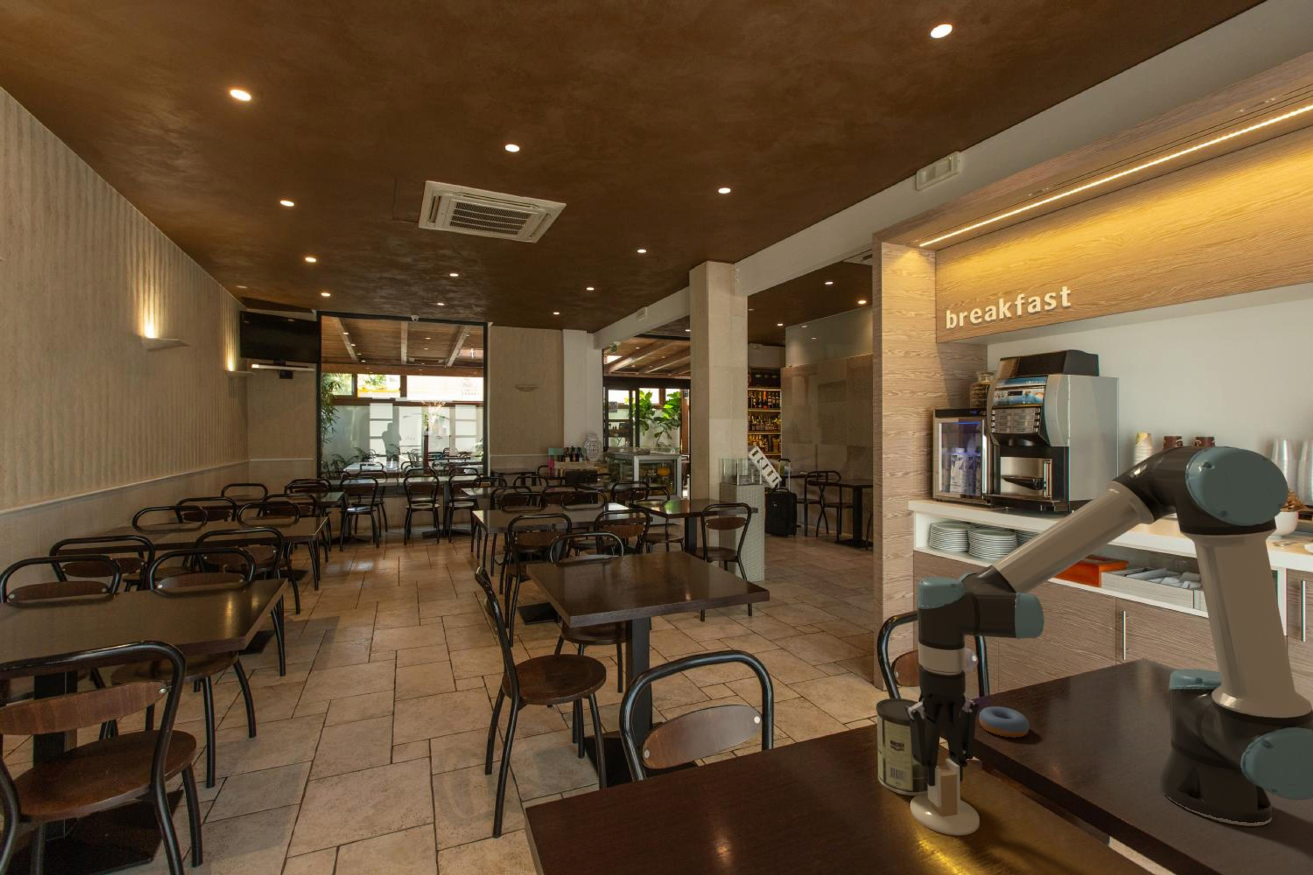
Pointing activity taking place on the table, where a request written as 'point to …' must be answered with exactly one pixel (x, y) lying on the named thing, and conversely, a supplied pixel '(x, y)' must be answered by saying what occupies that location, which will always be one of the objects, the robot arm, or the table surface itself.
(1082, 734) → the table surface
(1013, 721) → the doughnut
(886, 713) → the coffee can
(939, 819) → the lid
